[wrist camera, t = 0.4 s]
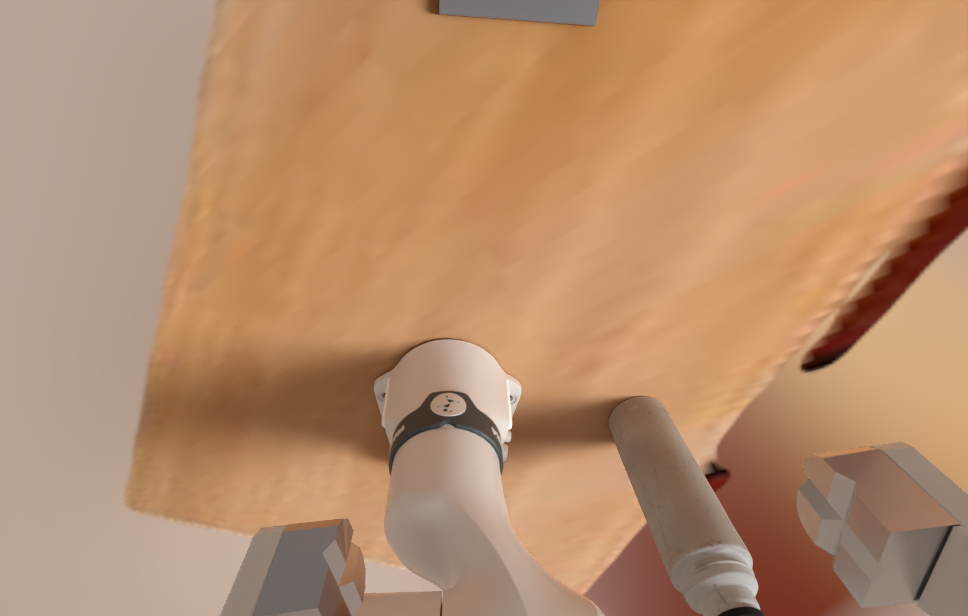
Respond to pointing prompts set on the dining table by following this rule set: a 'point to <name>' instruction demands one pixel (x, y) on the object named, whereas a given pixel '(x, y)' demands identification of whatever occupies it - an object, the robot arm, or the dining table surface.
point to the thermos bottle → (683, 512)
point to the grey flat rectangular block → (526, 10)
